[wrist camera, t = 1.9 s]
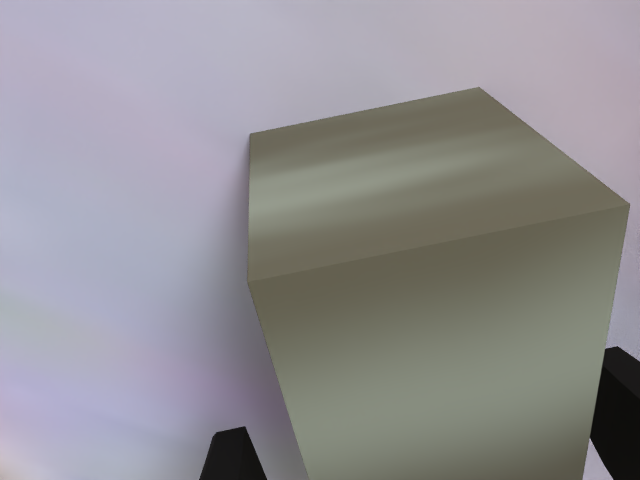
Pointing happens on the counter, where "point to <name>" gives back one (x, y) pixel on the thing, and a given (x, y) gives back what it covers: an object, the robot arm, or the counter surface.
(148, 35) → the counter surface
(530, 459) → the olive green rectangular block
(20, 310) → the counter surface
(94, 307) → the counter surface
